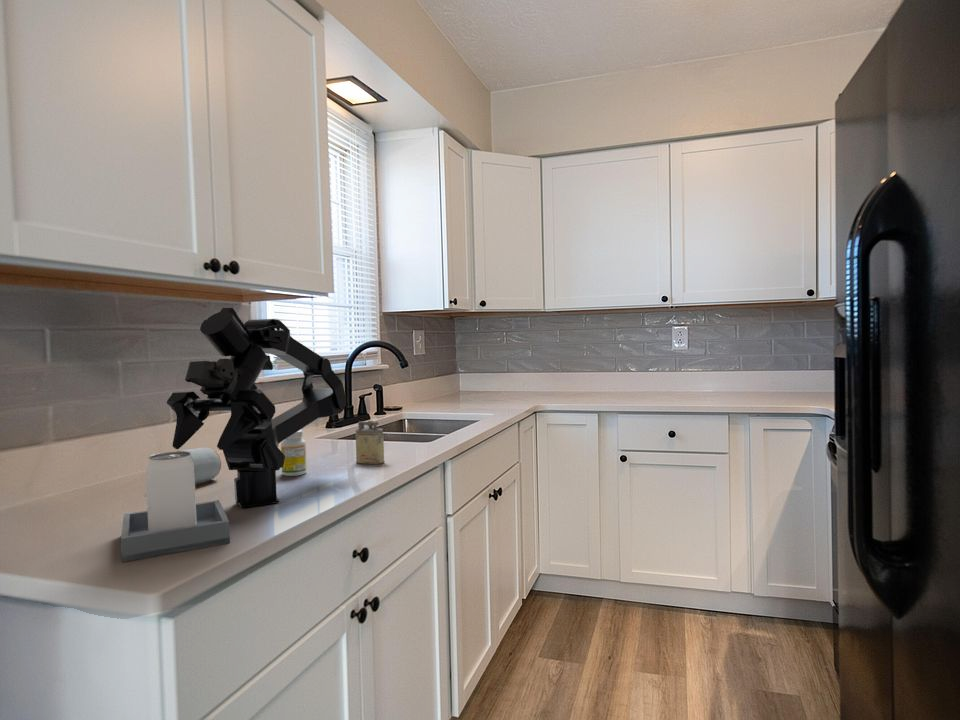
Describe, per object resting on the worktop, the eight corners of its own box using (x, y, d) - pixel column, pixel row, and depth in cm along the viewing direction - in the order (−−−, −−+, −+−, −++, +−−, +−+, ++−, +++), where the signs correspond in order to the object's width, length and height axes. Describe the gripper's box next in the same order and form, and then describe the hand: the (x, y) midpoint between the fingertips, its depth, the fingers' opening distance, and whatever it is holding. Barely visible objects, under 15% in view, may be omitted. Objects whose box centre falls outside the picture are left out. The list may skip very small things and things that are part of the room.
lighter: (386, 461, 141) (385, 420, 140) (380, 464, 137) (378, 422, 137) (360, 460, 143) (359, 420, 142) (352, 463, 139) (351, 422, 139)
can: (206, 527, 90) (203, 451, 90) (175, 542, 84) (171, 460, 84) (171, 525, 92) (167, 450, 91) (138, 539, 86) (134, 458, 85)
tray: (219, 518, 98) (218, 500, 97) (230, 542, 86) (229, 521, 86) (124, 534, 91) (123, 513, 91) (122, 562, 79) (120, 539, 79)
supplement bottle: (301, 476, 127) (300, 432, 127) (277, 476, 128) (276, 433, 127) (310, 470, 133) (308, 429, 132) (287, 470, 133) (285, 429, 133)
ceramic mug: (225, 479, 126) (223, 444, 126) (194, 489, 118) (192, 451, 118) (188, 477, 130) (186, 443, 129) (155, 486, 122) (153, 450, 122)
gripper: (170, 346, 101) (118, 419, 91) (258, 340, 95) (212, 418, 85) (209, 386, 109) (165, 457, 99) (292, 383, 102) (254, 459, 93)
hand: (196, 448), depth 94 cm, fingers open, 9 cm apart
